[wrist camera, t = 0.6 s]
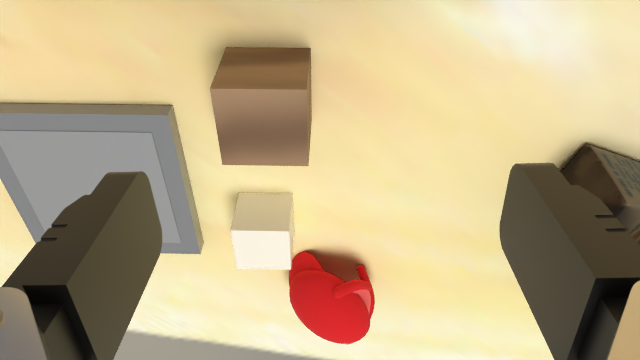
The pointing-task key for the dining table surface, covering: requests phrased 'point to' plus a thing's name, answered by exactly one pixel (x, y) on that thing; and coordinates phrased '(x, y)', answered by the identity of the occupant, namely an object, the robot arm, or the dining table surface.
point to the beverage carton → (609, 183)
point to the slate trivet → (95, 162)
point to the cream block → (263, 231)
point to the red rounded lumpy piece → (330, 300)
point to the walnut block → (263, 106)
